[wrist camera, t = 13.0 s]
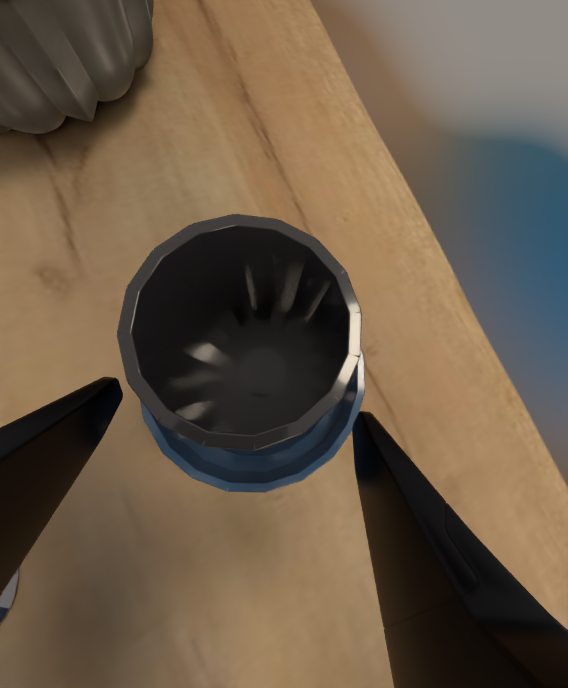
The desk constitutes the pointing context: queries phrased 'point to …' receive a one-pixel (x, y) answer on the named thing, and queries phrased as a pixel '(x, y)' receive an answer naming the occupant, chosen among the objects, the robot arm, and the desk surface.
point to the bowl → (265, 449)
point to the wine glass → (8, 597)
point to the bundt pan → (68, 58)
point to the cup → (240, 332)
